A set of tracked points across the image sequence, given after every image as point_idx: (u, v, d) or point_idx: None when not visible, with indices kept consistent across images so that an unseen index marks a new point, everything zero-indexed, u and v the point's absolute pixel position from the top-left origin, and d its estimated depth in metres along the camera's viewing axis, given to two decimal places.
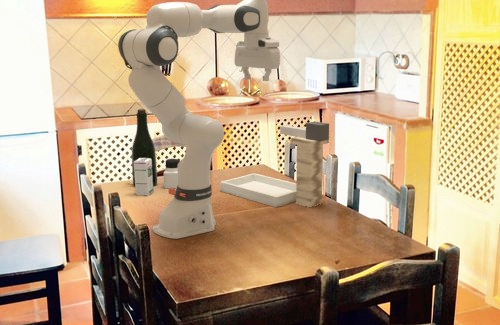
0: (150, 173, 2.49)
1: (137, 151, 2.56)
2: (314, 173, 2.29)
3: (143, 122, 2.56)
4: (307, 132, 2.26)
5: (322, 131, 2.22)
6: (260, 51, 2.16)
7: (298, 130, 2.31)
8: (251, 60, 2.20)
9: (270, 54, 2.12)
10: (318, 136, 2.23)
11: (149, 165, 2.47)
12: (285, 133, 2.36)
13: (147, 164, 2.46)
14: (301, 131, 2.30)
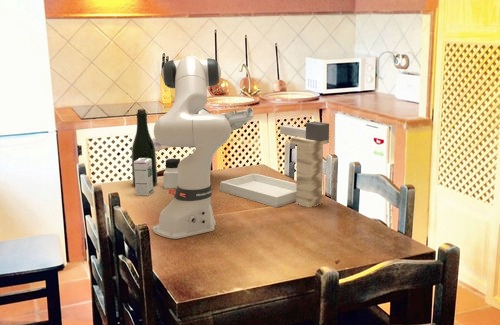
0: (150, 173, 2.49)
1: (137, 151, 2.56)
2: (314, 173, 2.29)
3: (143, 122, 2.56)
4: (307, 132, 2.26)
5: (322, 131, 2.22)
6: None
7: (298, 130, 2.31)
8: None
9: None
10: (318, 136, 2.23)
11: (149, 165, 2.47)
12: (285, 133, 2.36)
13: (147, 164, 2.46)
14: (301, 131, 2.30)
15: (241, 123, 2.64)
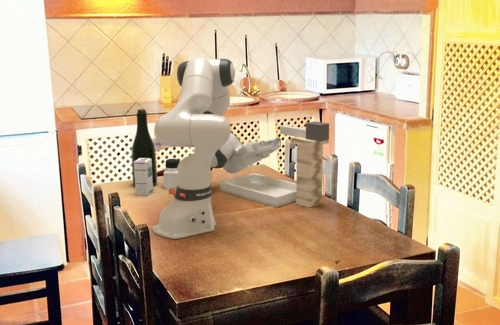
0: (150, 173, 2.49)
1: (137, 151, 2.56)
2: (314, 173, 2.29)
3: (143, 122, 2.56)
4: (307, 132, 2.26)
5: (322, 131, 2.22)
6: None
7: (298, 130, 2.31)
8: None
9: None
10: (318, 136, 2.23)
11: (149, 165, 2.47)
12: (285, 133, 2.36)
13: (147, 164, 2.46)
14: (301, 131, 2.30)
15: (268, 152, 2.55)
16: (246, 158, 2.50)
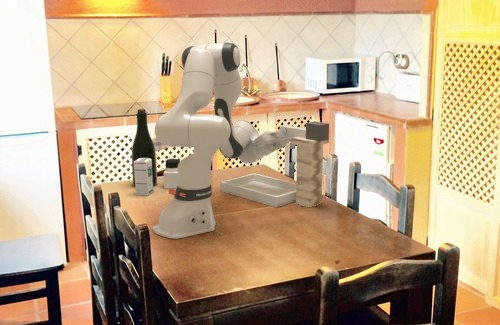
0: (150, 173, 2.49)
1: (137, 151, 2.56)
2: (314, 173, 2.29)
3: (143, 122, 2.56)
4: (307, 132, 2.26)
5: (322, 131, 2.22)
6: None
7: (298, 130, 2.30)
8: None
9: None
10: (318, 136, 2.23)
11: (149, 165, 2.47)
12: None
13: (147, 164, 2.46)
14: (301, 131, 2.29)
15: (285, 142, 2.47)
16: (263, 148, 2.42)
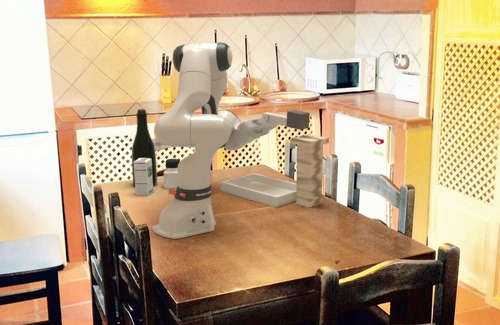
0: (150, 173, 2.49)
1: (137, 151, 2.56)
2: (314, 173, 2.29)
3: (143, 122, 2.56)
4: (288, 120, 2.32)
5: (302, 120, 2.28)
6: None
7: (279, 118, 2.36)
8: None
9: None
10: (298, 125, 2.29)
11: (149, 165, 2.47)
12: (267, 120, 2.41)
13: (147, 164, 2.46)
14: (282, 119, 2.35)
15: (268, 129, 2.53)
16: (246, 134, 2.48)
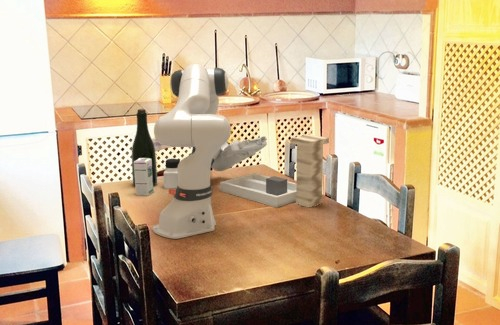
0: (150, 173, 2.49)
1: (137, 151, 2.56)
2: (314, 173, 2.29)
3: (143, 122, 2.56)
4: (267, 187, 2.46)
5: (281, 187, 2.42)
6: None
7: (259, 184, 2.50)
8: None
9: None
10: (277, 191, 2.42)
11: (149, 165, 2.47)
12: (247, 186, 2.55)
13: (147, 164, 2.46)
14: (262, 185, 2.49)
15: (254, 151, 2.61)
16: (232, 156, 2.56)
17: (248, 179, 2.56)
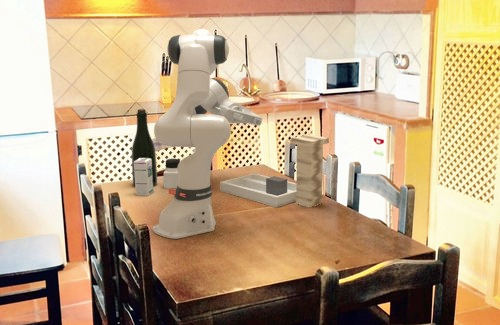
0: (150, 173, 2.49)
1: (137, 151, 2.56)
2: (314, 173, 2.29)
3: (143, 122, 2.56)
4: (267, 187, 2.46)
5: (281, 187, 2.42)
6: (245, 111, 2.56)
7: (259, 184, 2.50)
8: (241, 111, 2.50)
9: None
10: (277, 191, 2.42)
11: (149, 165, 2.47)
12: (247, 186, 2.55)
13: (147, 164, 2.46)
14: (262, 185, 2.49)
15: (246, 121, 2.58)
16: None
17: (248, 179, 2.56)
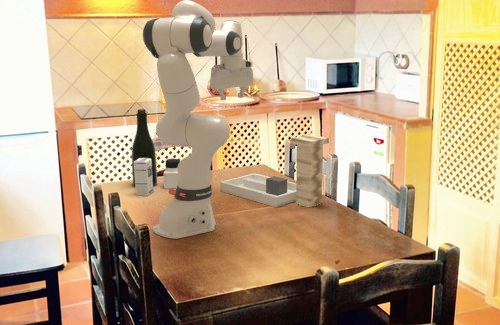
0: (150, 173, 2.49)
1: (137, 151, 2.56)
2: (314, 173, 2.29)
3: (143, 122, 2.56)
4: (267, 187, 2.46)
5: (281, 187, 2.42)
6: (243, 71, 2.39)
7: (259, 184, 2.50)
8: (233, 81, 2.37)
9: (252, 72, 2.42)
10: (277, 191, 2.42)
11: (149, 165, 2.47)
12: (247, 186, 2.55)
13: (147, 164, 2.46)
14: (262, 185, 2.49)
15: None
16: None
17: (248, 179, 2.56)
